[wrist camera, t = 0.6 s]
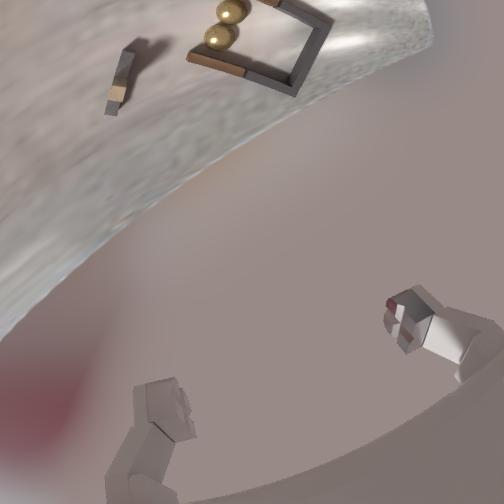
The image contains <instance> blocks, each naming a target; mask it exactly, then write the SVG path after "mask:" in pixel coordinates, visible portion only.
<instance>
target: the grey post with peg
mask: <svg viewBox="0 0 504 504" xmlns="http://www.w3.org/2000/svg"><path fill="white" fill-rule="evenodd" d="M134 56H135V52H134V51H129V50H122V53H121V56H120V59H119V63H118V66H117V69H116V72H115V76H114V79H113V83H112V86H111V90H110V94H109V97H108V102H107V106H106V110H105V114H104V115H112V116H117V114H118V110H119V106H120V102H123V98H124V95H125V91H126V88H127V78H128V75H129V72H130V68H131V65H132V62H133V59H134Z"/></svg>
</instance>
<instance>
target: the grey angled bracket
mask: <svg viewBox="0 0 504 504" xmlns="http://www.w3.org/2000/svg"><path fill="white" fill-rule="evenodd" d="M273 8H275V9H277V10H279V11H282V12H284V13H286V14H288V15H290V16H292V17H294V18H296V19H298V20H299V21H301V22H303V23H305V24H307V25H309V26H311V27H312V28H314V29H313V31H312V33H311V35H310V36H309V38H308V40H307V42H306V44H305V46H304V48H303V50H302V52H301V54H300V56H299V58H298V60H297V62H296V64H295V66H294V68H293V70H292V72H291V74H290V76H289V78H288V80H287V82H286V84H285V83H282V82H280V81H277V80H275V79H272V78H270V77H267V76H265V75H262V74H259V73H257V72H254V71H251V70H248V69H246V68H244V69H246V70H245V72H244V75H243V78H245V79H247V80H250V81H253V82H256V83H259V84H261V85H264V86H267V87H270V88H272V89H275V90H277V91H280V92H282V93H285V94H287V95H290V96H292V97H296V95H297V93H298V91H299V89H300V87H301V85H302V83H303V81H304V79H305V77H306V75H307V74H308V72H309V70H310V68H311V66H312V64H313V62H314V60H315V58H316V56H317V54H318V52H319V50H320V48H321V46H322V44H323V43H324V41H325V39H326V37H327V35H328V33H329V31H330V29H331V26H329V25H328V24H326V23H324V22H323V21H321V20H319V19H318V18H316V17H314V16H312V15H311V14H309V13H307V12H305V11H303V10H301V9H300V8H298V7H296V6H294V5H292V4H290V3H288V2H286V1H284V0H280V1H279V3H278V5H277V6H273Z"/></svg>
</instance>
